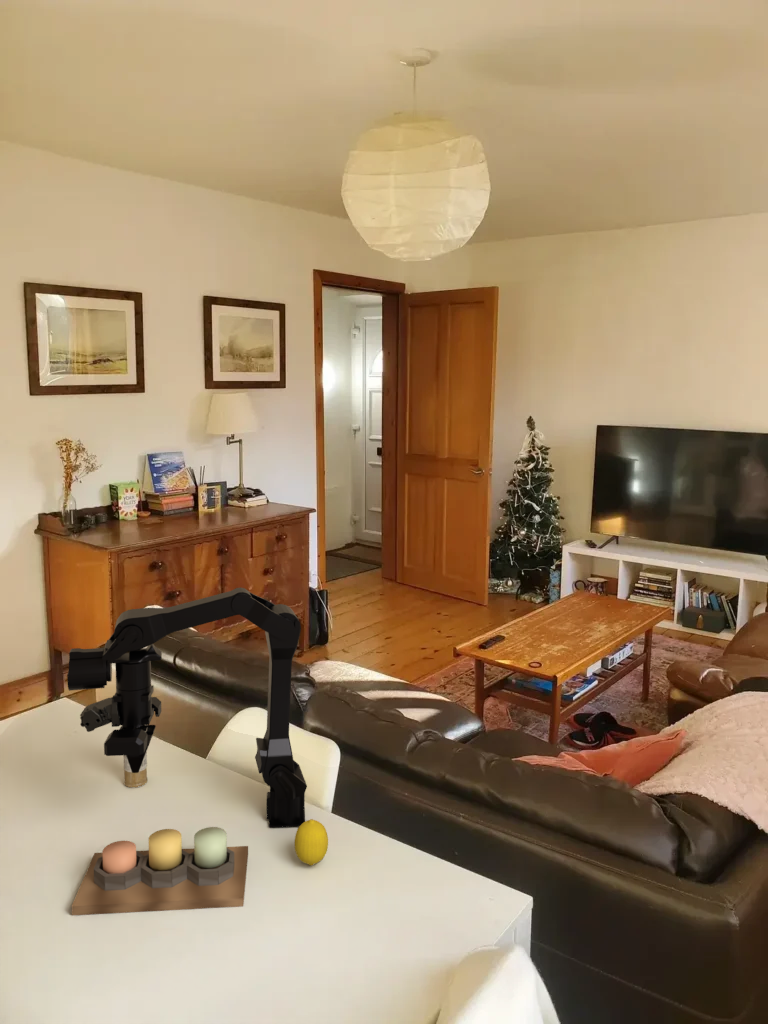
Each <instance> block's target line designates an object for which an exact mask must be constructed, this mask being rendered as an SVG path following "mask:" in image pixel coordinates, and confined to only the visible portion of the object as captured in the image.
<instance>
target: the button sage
mask: <svg viewBox="0 0 768 1024" xmlns="http://www.w3.org/2000/svg"><path fill="white" fill-rule="evenodd" d="M227 837H228V835H227V831H226V830H225V829H223V828H221V827H218V826H208V827H204V828H202V829H199V830H198V831H197V832H196V833H194V836H193V843H194V847H193V848H194V856H195V864H196V865H197V866H199V867H202V868H214V867H217V866H220V865H222V864H223V863H224V862H225V861H226V859H227V847H228V845H227V844H228V843H227V842H228V841H227Z"/></svg>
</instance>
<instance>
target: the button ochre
mask: <svg viewBox="0 0 768 1024" xmlns="http://www.w3.org/2000/svg"><path fill="white" fill-rule="evenodd" d="M182 839H183V838H182V833H181V832H180V831H179V830H178V829H177V830H176V829H174V828H165V829H164V828H163V829H159V830H157V831H154V832H153V833H152V834H150V835H149V837H148V850H149V865H150V867H151V868H153V869H155V870H169V869H172V868H174V867H176V866H178V865H179V864H180V863H181V861H182V849H183V846H182V845H183V844H182Z"/></svg>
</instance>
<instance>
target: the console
mask: <svg viewBox="0 0 768 1024" xmlns="http://www.w3.org/2000/svg"><path fill="white" fill-rule="evenodd" d="M248 860H249V845H240V846H239V845H238V846H227V859H226V861H225V862H224V863H223V864H222V865H220V866H217V867H214V868H202V867H199V866H197V865H196V864H195V856H194V847H192V848H182V861H181V863H180V864H179V865H178V866H176V867H174V868H172V869H169V870H155V869H153V868H151V867H150V865H149V849H147V850H136V864H137V867H135V868H133V869H131V870H129V871H127V872H125V873H115V874H107V873H106V872H104V871H103V854H102V852H94V853H93V855H92V859H91V860H90V862H89V865H88V867H87V870H86V872H85V874H84V877H83V879H82V882H81V883H80V885H79V888H78V891H77V893H76V895H75V897H74V900H73V902H72V904H71V916H87V915H88V916H89V915H104V914H108V915H109V914H123V913H125V914H127V913H140V912H145V913H146V912H158V911H159V912H160V911H179V910H199V909H201V910H202V909H219V908H236V907H238V908H239V907H244V904H245V892H246V882H247V881H246V879H247V872H248V871H247V870H248V862H249V861H248Z"/></svg>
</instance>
